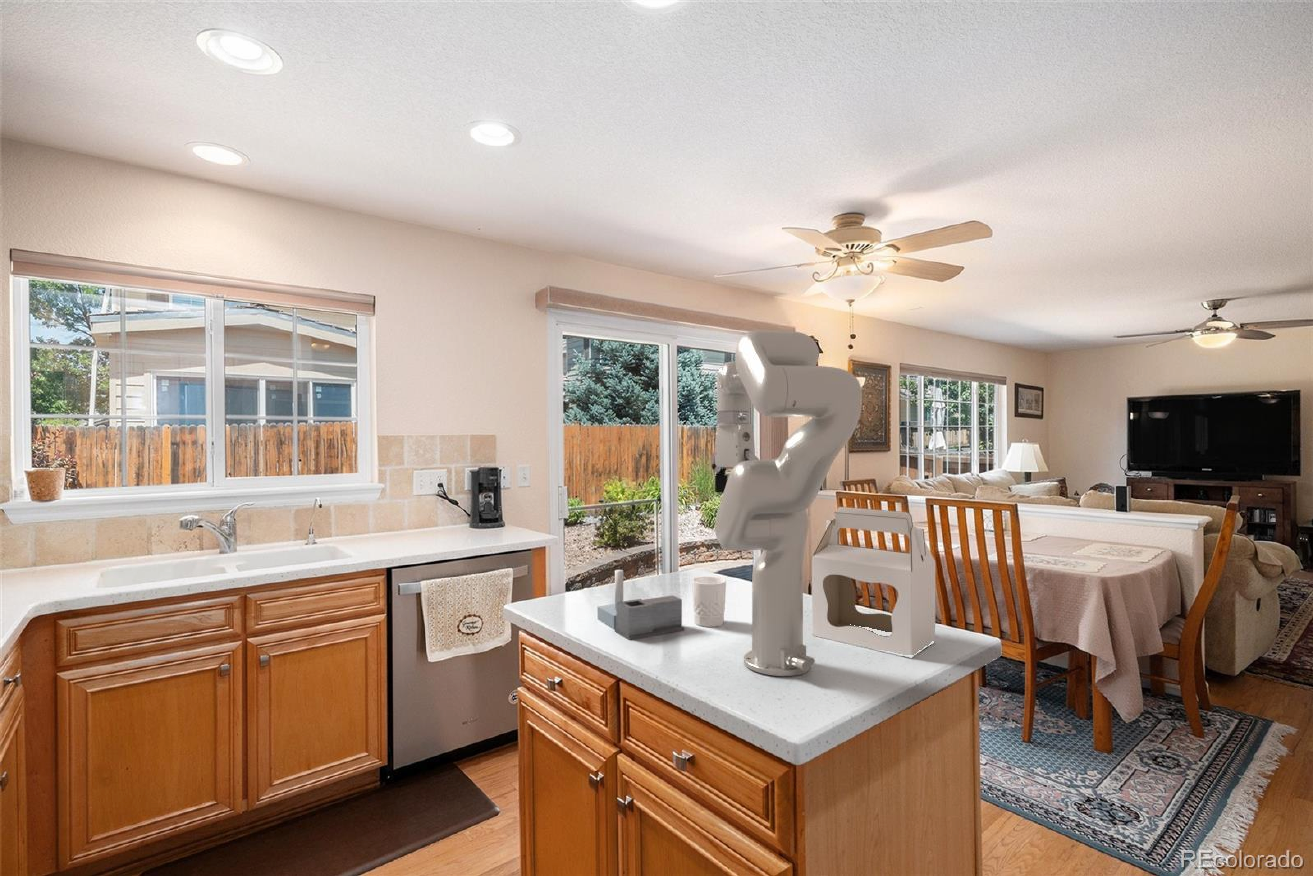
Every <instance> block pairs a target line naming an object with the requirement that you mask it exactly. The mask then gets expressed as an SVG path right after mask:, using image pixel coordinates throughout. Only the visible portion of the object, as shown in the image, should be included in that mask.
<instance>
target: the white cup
mask: <svg viewBox="0 0 1313 876" xmlns="http://www.w3.org/2000/svg"><path fill="white" fill-rule="evenodd" d="M691 583H692V602H693V603H692V604H693V612H694V613H693V617H694V619H693V620H694V623H695V625H697V626H700V627H706V628H714V627H715V628H716V627H720V626H722V625H723V624H724V622H725V609H726V607H725V606H726V596H727V595H726V592H727V590H726V589H727V580H726V579H725V578H722V577H719V576H718V577H717V576H698V577H695V578H693V579H692V580H691Z"/></svg>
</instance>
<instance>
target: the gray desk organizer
mask: <svg viewBox="0 0 1313 876" xmlns="http://www.w3.org/2000/svg"><path fill="white" fill-rule="evenodd" d="M682 601H683V600H682V598H679V597H677V596H674V595H667V596H661V597H653V598H646V599H641V598H637V599H631V600H623V601H622V602H616V629H617V630H619V631H620V632H622V633H624V634H625V635H627V636H635V635H641V634H647V633H652V632H653V631H655V630H660V629H666V628H672V627H678V626H682V627H683V618H682V617H683V613H682V612H683V609H682V608H683V602H682Z"/></svg>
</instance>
